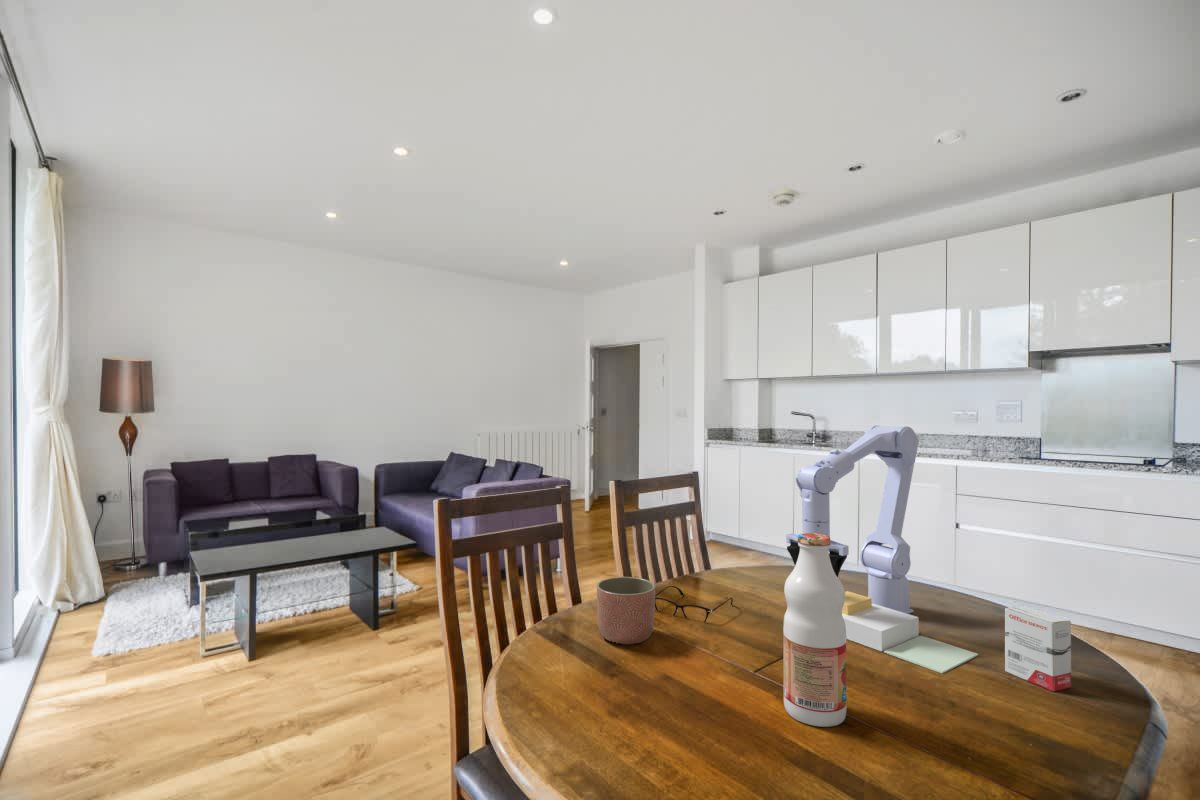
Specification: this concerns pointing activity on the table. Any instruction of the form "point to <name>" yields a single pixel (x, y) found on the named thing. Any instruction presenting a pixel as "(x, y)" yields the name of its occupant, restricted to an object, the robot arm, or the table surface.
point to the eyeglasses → (687, 605)
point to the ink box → (1038, 647)
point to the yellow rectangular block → (855, 603)
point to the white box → (881, 627)
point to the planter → (626, 609)
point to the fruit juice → (814, 637)
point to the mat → (931, 654)
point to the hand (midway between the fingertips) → (816, 581)
